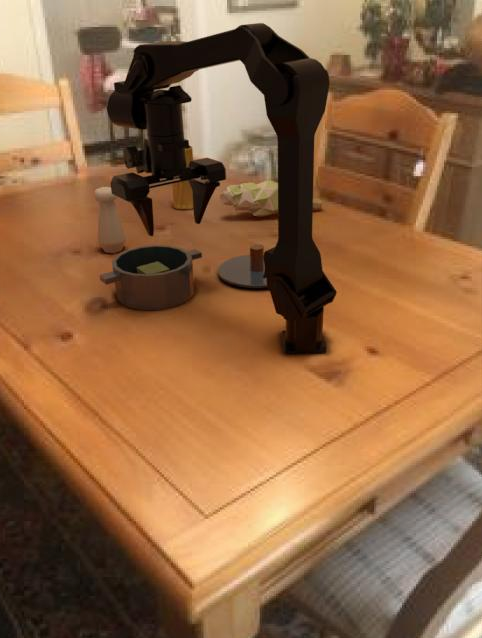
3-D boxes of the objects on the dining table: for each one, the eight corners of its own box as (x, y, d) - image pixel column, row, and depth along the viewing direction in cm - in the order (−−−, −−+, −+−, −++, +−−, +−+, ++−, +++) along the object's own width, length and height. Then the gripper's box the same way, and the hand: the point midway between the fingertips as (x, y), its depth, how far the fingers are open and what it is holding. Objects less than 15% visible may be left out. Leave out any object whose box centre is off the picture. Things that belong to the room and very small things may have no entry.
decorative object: (311, 199, 156) (214, 188, 149) (327, 178, 147) (225, 165, 140) (314, 231, 154) (216, 221, 146) (330, 212, 145) (227, 200, 137)
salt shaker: (93, 251, 131) (83, 190, 124) (110, 242, 135) (102, 182, 128) (115, 256, 129) (107, 194, 122) (132, 247, 133) (124, 186, 126)
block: (171, 291, 113) (169, 268, 111) (150, 297, 111) (147, 275, 108) (160, 283, 116) (157, 261, 114) (139, 289, 114) (136, 267, 111)
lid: (312, 277, 118) (313, 249, 115) (248, 298, 111) (247, 269, 108) (264, 253, 129) (264, 227, 126) (203, 271, 121) (201, 244, 118)
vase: (170, 204, 157) (164, 146, 149) (192, 201, 159) (188, 143, 151) (178, 211, 152) (173, 151, 145) (201, 207, 154) (197, 148, 147)
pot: (220, 291, 114) (219, 258, 110) (124, 322, 104) (119, 287, 101) (181, 267, 123) (179, 236, 120) (90, 293, 114) (84, 260, 110)
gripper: (189, 118, 107) (195, 207, 116) (88, 134, 98) (103, 229, 106) (225, 127, 100) (230, 221, 108) (120, 145, 90) (134, 247, 99)
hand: (174, 229), depth 105 cm, fingers open, 9 cm apart
